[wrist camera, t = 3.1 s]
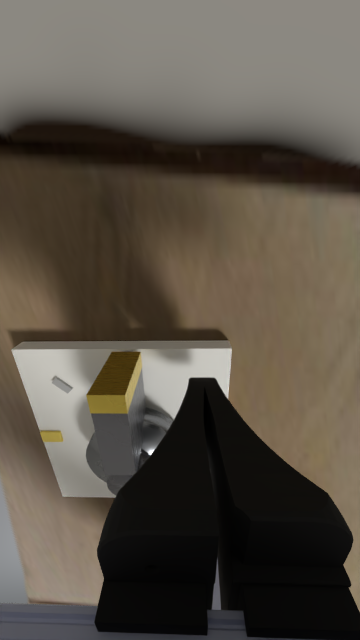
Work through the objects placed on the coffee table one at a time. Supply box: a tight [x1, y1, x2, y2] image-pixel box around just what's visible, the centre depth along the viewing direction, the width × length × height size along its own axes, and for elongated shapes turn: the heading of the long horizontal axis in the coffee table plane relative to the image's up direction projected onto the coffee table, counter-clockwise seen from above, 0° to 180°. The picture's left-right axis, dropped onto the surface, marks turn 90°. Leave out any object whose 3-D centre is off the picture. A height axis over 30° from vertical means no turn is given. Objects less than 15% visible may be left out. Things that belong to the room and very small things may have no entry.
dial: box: [86, 352, 173, 495], centre depth 13 cm, size 10×6×4 cm, turn 1°
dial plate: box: [11, 340, 232, 498], centre depth 16 cm, size 13×14×1 cm
